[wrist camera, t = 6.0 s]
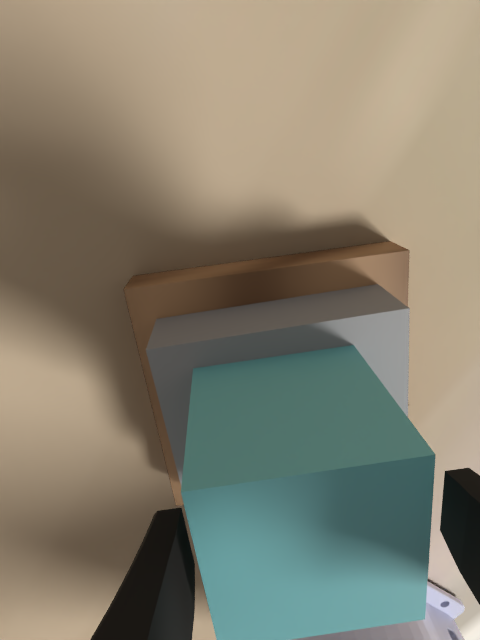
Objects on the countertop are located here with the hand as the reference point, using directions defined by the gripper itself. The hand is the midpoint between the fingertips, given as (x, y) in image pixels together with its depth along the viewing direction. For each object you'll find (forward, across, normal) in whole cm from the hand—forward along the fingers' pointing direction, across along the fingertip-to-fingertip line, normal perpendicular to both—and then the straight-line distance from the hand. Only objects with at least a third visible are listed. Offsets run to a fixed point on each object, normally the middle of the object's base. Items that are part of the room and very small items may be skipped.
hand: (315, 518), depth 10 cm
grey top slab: (+6, 0, 0) cm, 6 cm away
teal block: (+3, 0, 0) cm, 4 cm away
